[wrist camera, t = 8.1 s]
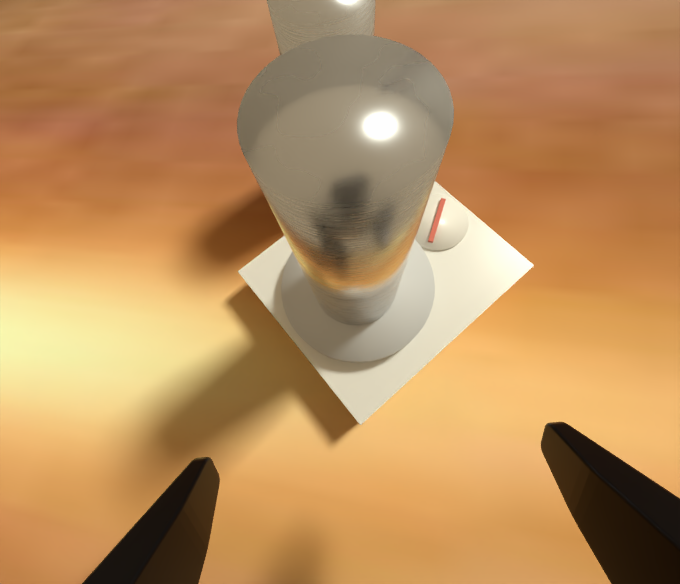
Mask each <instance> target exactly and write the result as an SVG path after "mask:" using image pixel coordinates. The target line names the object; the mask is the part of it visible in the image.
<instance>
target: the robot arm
mask: <svg viewBox="0 0 680 584" xmlns="http://www.w3.org/2000/svg"><path fill="white" fill-rule="evenodd" d="M541 449H542V452H543V455H544V457H545V459H546V461H547V463H548V465H549V468H550V470H551V472H552V474H553V476H554V478H555V480H556V483H557V485H558V487H559V489H560V491H561V493H562V495H563V498H564V500H565V502H566V504H567V506H568V508H569V510H570V512H571V514H572V516H573V518H574V520H575V522H576V523H577V525H578V527H579V529H580V531H581V532H582V534H583V536H584V537H585V539H586V541H587V543H588V544H589V546H590V548H591V549H592V551H593V553H594V555H595V556H596V558H597V560H598V562H599V563H600V565H601V567H602V568H603V570H604V572H605V574H606V575H607V577H608V579H609V580H610V582H611V584H680V498H678V497H677V496H675V495H674V494H672V493H671V492H669V491H668V490H666V489H665V488H663V487H662V486H660V485H659V484H657V483H656V482H654V481H653V480H651V479H650V478H648V477H647V476H645V475H644V474H642V473H641V472H639V471H637V470H636V469H634V468H633V467H631V466H630V465H628V464H627V463H625V462H624V461H622V460H621V459H619V458H618V457H616V456H615V455H613V454H612V453H610V452H609V451H607V450H606V449H604V448H603V447H601V446H600V445H598V444H597V443H595V442H594V441H592V440H591V439H589V438H588V437H586V436H585V435H583V434H582V433H580V432H579V431H577V430H576V429H574V428H573V427H571V426H570V425H568V424H566V423H564V422H553V423H547V424H546V425H545V429H544V433H543V437H542V441H541ZM219 482H220V479H219V474H218V472H217V470H216V468H215V466H214V463H213V461H212V459H211V458H209V457H202V458H196V459H194V460H193V461H191V462H190V464H189V465H188V466H187V467H186V468H185V469H184V470H183V471H182V472H181V474H180V475H179V476H178V477H177V478H176V479H175V480H174V481H173V483H172V484H171V485H170V486H169V487H168V488H167V489H166V490H165V491H164V493H163V494H162V495H161V496H160V497H159V498H158V499H157V500H156V502H155V503H154V504H153V505H152V506H151V507H150V508H149V509H148V510H147V512H146V513H145V514H144V515H143V516H142V517H141V518H140V519H139V521H138V522H137V523H136V524H135V525H134V526H133V527H132V528H131V529H130V531H129V532H128V533H127V534H126V535H125V536H124V537H123V538H122V540H121V541H120V542H119V543H118V544H117V545H116V546H115V547H114V548H113V550H112V551H111V552H110V553H109V554H108V555H107V556H106V557H105V558H104V560H103V561H102V562H101V563H100V564H99V565H98V566H97V567H96V569H95V570H94V571H93V572H92V573H91V574H90V575H89V576H88V577H87V579H86V580H85V581H84V582H83V583H82V584H198V583H199V579H200V575H201V572H202V568H203V564H204V561H205V557H206V553H207V549H208V544H209V539H210V534H211V528H212V523H213V517H214V511H215V506H216V500H217V495H218V489H219Z"/></svg>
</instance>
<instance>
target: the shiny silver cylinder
mask: <svg viewBox="0 0 680 584" xmlns="http://www.w3.org/2000/svg"><path fill="white" fill-rule="evenodd" d="M453 118H454V108H453V100H452V97H451V93H450V90H449V88H448V86H447V84H446V82H445V79H444V78H443V77H442V75H441V74H440V72H439V71H438V70H437V69H436V67H435V66H434V65H433V64H432V63H431V62H430V61H429V60H427V59H426V58H425V57H424V56H422V55H421V54H420V53H418V52H416V51H415V50H413V49H411V48H409V47H407V46H405V45H403V44H401V43H398V42H395V41H392V40H389V39H385V38H381V37H377V36H369V35H352V34H350V35H337V36H330V37H324V38H320V39H316V40H313V41H310V42H307V43H304V44H301V45H299V46H297V47H295V48H293V49H291V50H289V51H287V52H285V53H284V54H282V55H280V56H279V57H277V58H276V59H275V60H273V61H272V62H271V63H269V64H268V65H267V66H266V67H265V68H264V69H263V70H262V71H261V72H260V73H259V74H258V75H257V76H256V77H255V79H254V80H253V81H252V83H251V84H250V86H249V87H248V89H247V90H246V93H245V95H244V97H243V99H242V102H241V105H240V108H239V112H238V119H237V133H238V139H239V143H240V146H241V149H242V152H243V154H244V156H245V158H246V160H247V162H248V164H249V166H250V168H251V170H252V172H253V174H254V176H255V178H256V180H257V182H258V184H259V186H260V188H261V190H262V192H263V194H264V196H265V198H266V200H267V202H268V204H269V206H270V208H271V210H272V212H273V214H274V216H275V218H276V220H277V222H278V224H279V226H280V228H281V230H282V232H283V234H284V236H285V238H286V239H287V241H288V243H289V245H290V247H291V249H292V251H293V253H294V255H295V257H296V259H297V261H298V263H299V265H300V267H301V269H302V271H303V273H304V275H305V277H306V279H307V281H308V283H309V285H310V287H311V289H312V291H313V293H314V295H315V297H316V299H317V301H318V303H319V305H320V307H321V308H322V309H323V311H324V312H325V313H326V314H327V315H328V316H329V317H331V318H332V319H334V320H335V321H337V322H340V323H342V324H346V325H365V324H369V323H371V322H374V321H376V320H377V319H379V318H380V317H382V316H383V315H384V314H385V313H386V312H387V311H388V310H389V309H390V307H391V306H392V304H393V302H394V299H395V297H396V294H397V291H398V288H399V285H400V282H401V279H402V276H403V273H404V270H405V267H406V264H407V261H408V258H409V255H410V252H411V249H412V247H413V244H414V241H415V238H416V235H417V232H418V229H419V226H420V223H421V220H422V217H423V214H424V211H425V208H426V205H427V202H428V199H429V197H430V194H431V191H432V188H433V185H434V182H435V179H436V176H437V173H438V170H439V167H440V164H441V161H442V158H443V155H444V152H445V149H446V146H447V144H448V141H449V138H450V135H451V130H452V126H453Z"/></svg>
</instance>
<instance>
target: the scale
mask: <svg viewBox="0 0 680 584" xmlns="http://www.w3.org/2000/svg"><path fill="white" fill-rule="evenodd" d="M533 266H534V265H533V264H532V263H531V262H529V261H528V260H527V259H526V258H525V257H524V256H522V255H521V254H520V253H519V252H518V251H516V250H515V249H514V248H513V247H512V246H511V245H509V244H508V243H507V242H506V241H505V240H504V239H502V238H501V237H500V236H499V235H498V234H496V233H495V232H494V231H493V230H492V229H491V228H489V227H488V226H487V225H486V224H485V223H484V222H482V221H481V220H480V219H479V218H478V217H476V216H475V215H474V214H473V213H472V212H471V211H469V210H468V209H467V208H466V207H465V206H464V205H462V204H461V203H460V202H459V201H458V200H457V199H455V198H454V197H453V196H452V195H451V194H449V193H448V192H447V191H446V190H445V189H444V188H442V187H441V186H440V185H439V184H438V183H437V182H434V185H433V188H432V191H431V194H430V197H429V199H428V202H427V205H426V208H425V211H424V214H423V217H422V220H421V223H420V226H419V229H418V232H417V235H416V238H415V241H414V244H413V247H412V249H411V252H410V255H409V258H408V261H407V264H406V267H405V270H404V273H403V276H402V279H401V282H400V285H399V288H398V291H397V294H396V297H395V299H394V302H393V304H392V306H391V307H390V309H389V310H388V311H387V312H386V313H385V314H384V315H383V316H382V317H380V318H379V319H377V320H376V321H374V322H371V323H369V324H365V325H346V324H342V323H340V322H337V321H335V320H334V319H332V318H331V317H329V316H328V315H327V314H326V313H325V312H324V311H323V309H322V308H321V307H320V305H319V303H318V301H317V299H316V297H315V295H314V293H313V291H312V289H311V287H310V285H309V283H308V281H307V279H306V277H305V275H304V273H303V271H302V269H301V267H300V265H299V263H298V261H297V259H296V257H295V255H294V253H293V251H292V249H291V247H290V245H289V243H288V241H287V239H286V238H285V236H283V237H282V238H280V239H279V240H278V241H276V242H275V243H274V244H273V245H271V246H270V247H269V248H267V249H266V250H265V251H264V252H262V253H261V254H260V255H258V256H257V257H256V258H254V259H253V260H252V261H251V262H249V263H248V264H247V265H245V266H244V267H243V268H242V269H240V270H239V271H238V272H239V274H240V275H241V276H242V277H243V279H244V280H245V281H246V282H247V284H248V285H249V286H250V287H251V289H252V290H253V291H254V292H255V294H256V295H257V296H258V297H259V299H260V300H261V301H262V302H263V304H264V305H265V306H266V307H267V309H268V310H269V311H270V312H271V314H272V315H273V316H274V318H275V319H276V320H277V321H278V323H279V324H280V325H281V326H282V328H283V329H284V330H285V331H286V333H287V334H288V335H289V336H290V338H291V339H292V340H293V341H294V343H295V344H296V345H297V346H298V348H299V349H300V350H301V351H302V353H303V354H304V355H305V356H306V358H307V359H308V360H309V361H310V363H311V364H312V365H313V366H314V368H315V369H316V370H317V371H318V373H319V374H320V375H321V376H322V378H323V379H324V380H325V381H326V383H327V384H328V385H329V386H330V388H331V389H332V390H333V391H334V393H335V394H336V395H337V396H338V398H339V399H340V400H341V401H342V403H343V404H344V405H345V406H346V408H347V409H348V410H349V412H350V413H351V414H352V415H353V417H354V418H355V419H356V420H357V422H358V423H359V424H360V425H361V424H362V423H363V422H365V421H366V420H367V419H368V418H369V417H370V416H371V415H372V414H373V413H374V412H375V411H376V410H378V409H379V408H380V407H381V406H382V405H383V404H384V403H385V402H386V401H387V400H388V399H389V398H391V397H392V396H393V395H394V394H395V393H396V392H397V391H398V390H399V389H400V388H401V387H403V386H404V385H405V384H406V383H407V382H408V381H409V380H410V379H411V378H412V377H413V376H414V375H416V374H417V373H418V372H419V371H420V370H421V369H422V368H423V367H424V366H425V365H426V364H427V363H429V362H430V361H431V360H432V359H433V358H434V357H435V356H436V355H437V354H438V353H439V352H440V351H442V350H443V349H444V348H445V347H446V346H447V345H448V344H449V343H450V342H451V341H452V340H453V339H455V338H456V337H457V336H458V335H459V334H460V333H461V332H462V331H463V330H464V329H465V328H467V327H468V326H469V325H470V324H471V323H472V322H473V321H474V320H475V319H476V318H477V317H478V316H480V315H481V314H482V313H483V312H484V311H485V310H486V309H487V308H488V307H489V306H490V305H491V304H493V303H494V302H495V301H496V300H497V299H498V298H499V297H500V296H501V295H502V294H503V293H504V292H506V291H507V290H508V289H509V288H510V287H511V286H512V285H513V284H514V283H515V282H516V281H517V280H519V279H520V278H521V277H522V276H523V275H524V274H525V273H526V272H527V271H528V270H529V269H531V268H532V267H533Z"/></svg>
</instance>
